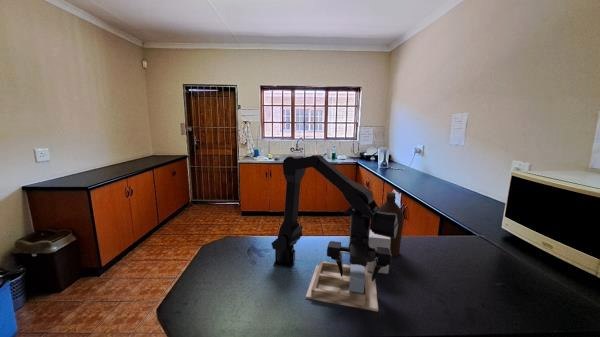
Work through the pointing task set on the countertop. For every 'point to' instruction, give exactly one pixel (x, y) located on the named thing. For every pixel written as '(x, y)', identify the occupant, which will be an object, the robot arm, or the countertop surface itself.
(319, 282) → the divided wooden tray
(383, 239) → the supplement box
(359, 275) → the grey rectangular block
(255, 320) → the countertop surface
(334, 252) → the robot arm
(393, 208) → the olive oil
